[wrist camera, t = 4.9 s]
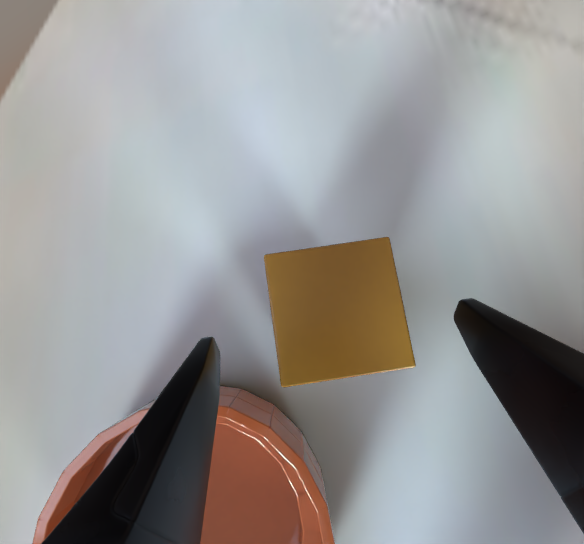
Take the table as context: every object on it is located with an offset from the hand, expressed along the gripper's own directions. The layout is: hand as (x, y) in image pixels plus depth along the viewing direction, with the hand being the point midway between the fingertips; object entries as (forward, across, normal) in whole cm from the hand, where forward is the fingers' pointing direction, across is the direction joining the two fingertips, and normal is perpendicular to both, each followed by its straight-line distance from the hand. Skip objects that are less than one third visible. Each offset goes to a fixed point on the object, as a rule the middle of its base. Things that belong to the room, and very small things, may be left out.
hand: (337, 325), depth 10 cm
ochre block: (+7, 0, +6) cm, 9 cm away
